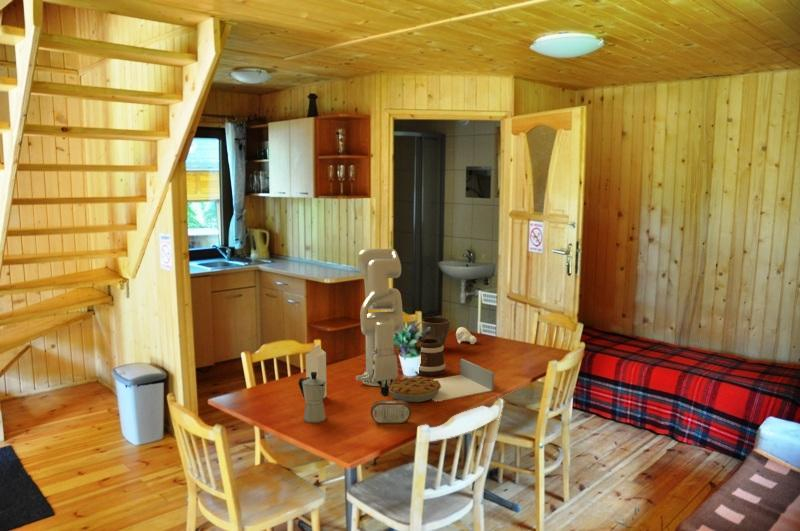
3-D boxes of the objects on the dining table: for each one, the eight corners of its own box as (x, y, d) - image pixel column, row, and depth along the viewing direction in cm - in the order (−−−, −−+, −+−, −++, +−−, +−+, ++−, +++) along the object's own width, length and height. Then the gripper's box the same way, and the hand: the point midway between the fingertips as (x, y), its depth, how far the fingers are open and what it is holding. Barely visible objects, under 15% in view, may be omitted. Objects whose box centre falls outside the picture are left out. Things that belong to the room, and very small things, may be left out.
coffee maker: (334, 419, 230) (334, 373, 228) (316, 426, 224) (315, 378, 221) (308, 409, 240) (308, 365, 238) (291, 416, 233) (289, 370, 231)
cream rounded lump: (460, 325, 346) (479, 330, 340) (459, 339, 348) (478, 344, 341) (455, 327, 341) (474, 332, 335) (453, 342, 343) (472, 347, 336)
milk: (306, 399, 252) (305, 346, 249) (314, 394, 258) (313, 343, 255) (318, 401, 249) (317, 348, 247) (327, 396, 255) (325, 345, 252)
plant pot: (450, 353, 322) (451, 323, 320) (422, 353, 321) (422, 323, 319) (448, 345, 336) (448, 317, 334) (421, 345, 336) (421, 317, 334)
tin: (411, 421, 229) (411, 399, 228) (411, 424, 226) (411, 402, 225) (370, 421, 229) (370, 399, 227) (370, 424, 225) (370, 402, 224)
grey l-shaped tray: (435, 403, 249) (435, 382, 248) (407, 386, 270) (407, 367, 269) (493, 392, 263) (493, 372, 261) (462, 376, 284) (462, 358, 282)
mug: (452, 373, 287) (452, 341, 285) (427, 379, 278) (428, 347, 276) (424, 363, 303) (425, 333, 301) (400, 368, 294) (400, 338, 292)
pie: (426, 406, 242) (426, 394, 242) (379, 399, 253) (378, 387, 252) (449, 389, 261) (449, 377, 260) (404, 383, 272) (404, 372, 271)
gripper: (371, 355, 242) (371, 400, 244) (405, 351, 248) (405, 395, 250) (363, 351, 248) (364, 395, 250) (397, 347, 255) (397, 390, 257)
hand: (384, 395), depth 250 cm, fingers closed
